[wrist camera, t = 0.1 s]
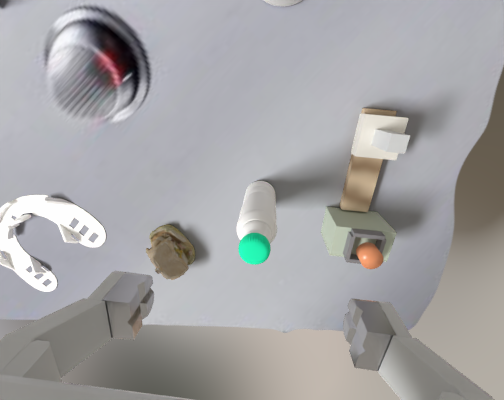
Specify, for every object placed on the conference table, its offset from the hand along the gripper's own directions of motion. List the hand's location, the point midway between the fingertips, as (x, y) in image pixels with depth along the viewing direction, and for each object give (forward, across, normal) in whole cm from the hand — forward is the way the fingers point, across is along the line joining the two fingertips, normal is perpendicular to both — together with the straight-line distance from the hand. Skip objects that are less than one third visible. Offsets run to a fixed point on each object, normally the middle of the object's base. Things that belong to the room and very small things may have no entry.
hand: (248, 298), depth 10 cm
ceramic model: (+48, +22, +32) cm, 62 cm away
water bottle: (+48, 0, +13) cm, 50 cm away
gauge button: (+35, -22, +18) cm, 46 cm away
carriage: (+46, -22, -3) cm, 51 cm away
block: (+48, -22, +3) cm, 53 cm away
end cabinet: (+48, -22, +18) cm, 56 cm away
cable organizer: (+49, +59, +33) cm, 83 cm away
